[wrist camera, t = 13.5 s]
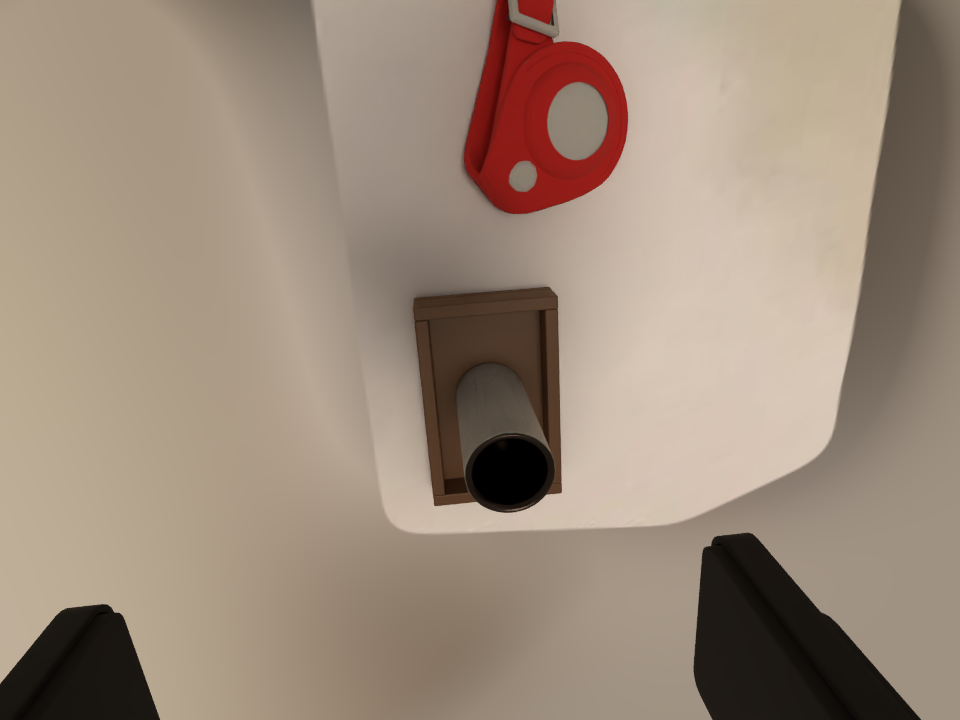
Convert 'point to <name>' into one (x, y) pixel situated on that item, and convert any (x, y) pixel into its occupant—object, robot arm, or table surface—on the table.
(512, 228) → the table surface
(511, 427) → the gray hollow tube
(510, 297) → the shelf tray
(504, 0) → the tracker holder
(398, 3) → the table surface
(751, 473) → the table surface
